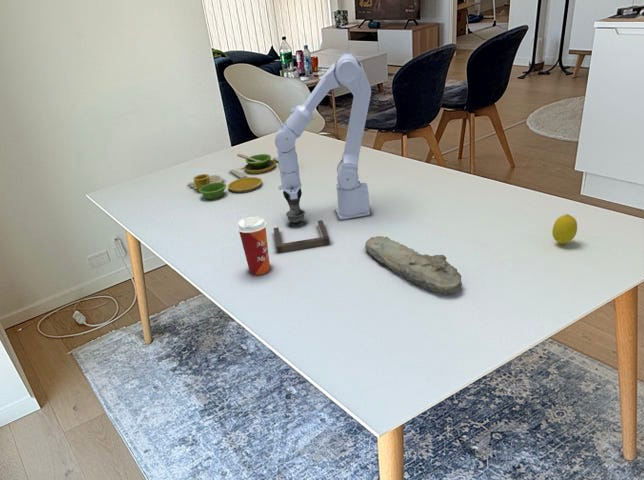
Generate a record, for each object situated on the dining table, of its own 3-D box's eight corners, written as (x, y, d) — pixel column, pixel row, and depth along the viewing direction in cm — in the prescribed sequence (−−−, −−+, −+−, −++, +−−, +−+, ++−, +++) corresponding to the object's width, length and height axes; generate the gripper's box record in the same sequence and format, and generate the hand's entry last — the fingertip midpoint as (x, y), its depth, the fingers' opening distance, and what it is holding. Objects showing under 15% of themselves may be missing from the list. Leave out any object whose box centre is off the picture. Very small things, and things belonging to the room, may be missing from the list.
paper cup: (270, 276, 151) (261, 227, 142) (242, 277, 152) (232, 228, 144) (276, 262, 157) (268, 214, 148) (250, 263, 158) (240, 216, 150)
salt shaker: (286, 221, 178) (281, 184, 171) (305, 218, 178) (300, 181, 171) (288, 229, 174) (283, 191, 166) (307, 226, 174) (302, 188, 166)
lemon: (573, 239, 144) (579, 209, 140) (574, 249, 140) (580, 219, 136) (550, 239, 146) (554, 209, 142) (550, 248, 142) (555, 218, 137)
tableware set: (278, 158, 232) (276, 142, 228) (310, 174, 211) (308, 157, 207) (183, 185, 221) (179, 169, 217) (207, 205, 200) (203, 187, 196)
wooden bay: (323, 226, 172) (322, 219, 171) (329, 244, 161) (328, 238, 160) (274, 233, 172) (273, 227, 171) (277, 253, 161) (276, 246, 160)
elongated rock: (386, 244, 159) (356, 258, 156) (384, 227, 156) (353, 240, 153) (475, 286, 132) (441, 302, 129) (474, 265, 129) (439, 282, 126)
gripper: (274, 165, 176) (280, 206, 184) (277, 180, 164) (284, 224, 172) (297, 161, 176) (302, 203, 184) (301, 176, 164) (307, 220, 172)
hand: (295, 213), depth 178 cm, fingers closed
